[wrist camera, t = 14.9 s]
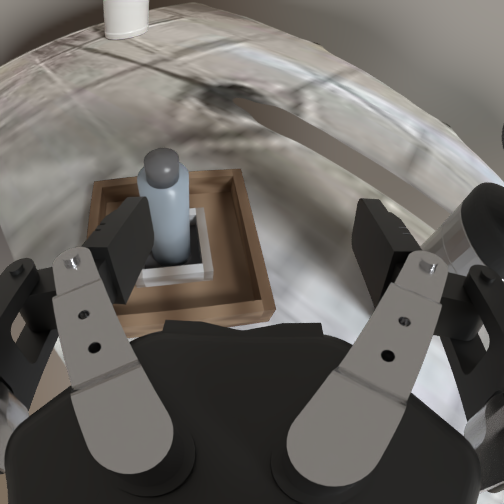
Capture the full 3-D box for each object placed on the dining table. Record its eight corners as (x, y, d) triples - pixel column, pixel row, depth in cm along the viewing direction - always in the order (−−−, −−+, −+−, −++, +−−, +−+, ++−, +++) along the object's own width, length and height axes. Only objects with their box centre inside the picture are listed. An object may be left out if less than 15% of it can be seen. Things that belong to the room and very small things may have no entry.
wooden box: (237, 188, 42) (240, 168, 39) (268, 321, 33) (276, 309, 30) (100, 200, 38) (94, 181, 35) (94, 340, 29) (83, 329, 26)
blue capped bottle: (188, 232, 36) (187, 139, 24) (192, 265, 34) (191, 176, 22) (151, 236, 35) (135, 144, 23) (153, 269, 33) (132, 182, 21)
